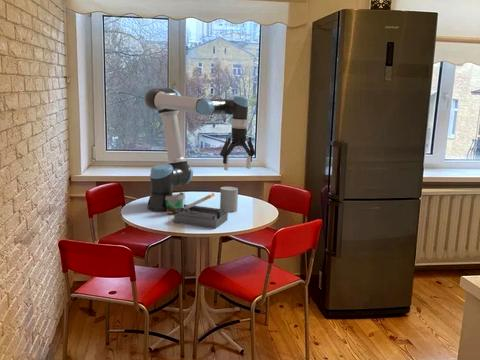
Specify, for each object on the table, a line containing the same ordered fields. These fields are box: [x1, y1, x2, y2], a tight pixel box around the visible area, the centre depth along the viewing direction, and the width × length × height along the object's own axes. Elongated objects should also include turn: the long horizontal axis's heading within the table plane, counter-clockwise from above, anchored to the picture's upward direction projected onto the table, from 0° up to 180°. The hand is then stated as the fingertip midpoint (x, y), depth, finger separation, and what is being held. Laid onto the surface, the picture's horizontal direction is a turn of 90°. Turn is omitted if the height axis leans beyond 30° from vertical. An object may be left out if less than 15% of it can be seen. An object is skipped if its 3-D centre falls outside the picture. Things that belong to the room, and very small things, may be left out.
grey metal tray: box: [173, 204, 229, 230], centre depth 236 cm, size 22×16×7 cm
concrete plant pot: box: [219, 186, 239, 214], centre depth 258 cm, size 10×10×12 cm
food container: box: [165, 191, 186, 216], centre depth 248 cm, size 12×6×10 cm, turn 148°
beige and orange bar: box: [182, 192, 216, 211], centre depth 235 cm, size 18×5×2 cm, turn 71°
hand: (237, 169), depth 243 cm, fingers open, 13 cm apart
